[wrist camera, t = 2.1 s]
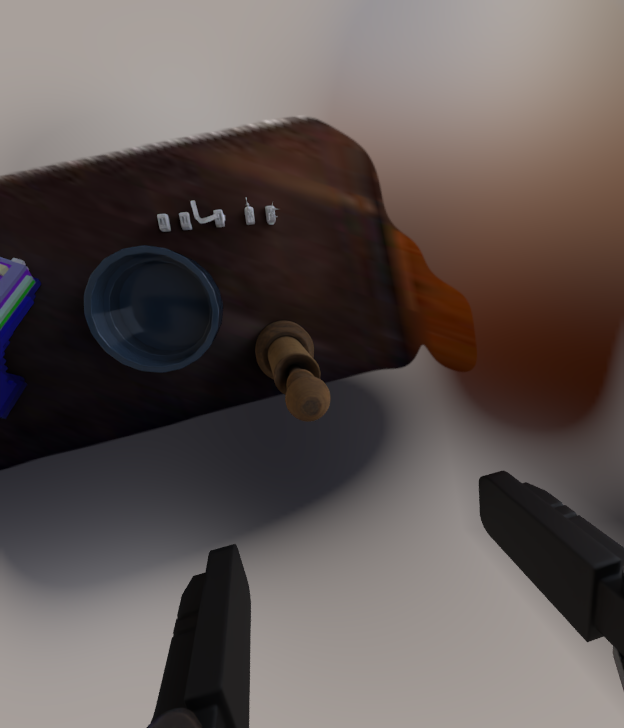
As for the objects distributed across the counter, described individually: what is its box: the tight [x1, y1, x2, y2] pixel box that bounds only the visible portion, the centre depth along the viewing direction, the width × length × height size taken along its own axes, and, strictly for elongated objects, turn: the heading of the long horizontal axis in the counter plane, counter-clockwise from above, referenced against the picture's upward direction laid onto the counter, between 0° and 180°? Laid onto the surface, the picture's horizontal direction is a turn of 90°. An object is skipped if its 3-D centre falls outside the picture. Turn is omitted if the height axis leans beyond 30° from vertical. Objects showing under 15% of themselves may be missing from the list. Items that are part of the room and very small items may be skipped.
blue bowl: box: [84, 245, 223, 373], centre depth 32 cm, size 11×11×6 cm
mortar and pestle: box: [255, 321, 330, 421], centre depth 29 cm, size 7×6×18 cm
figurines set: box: [157, 198, 278, 232], centre depth 32 cm, size 12×3×3 cm, turn 96°
